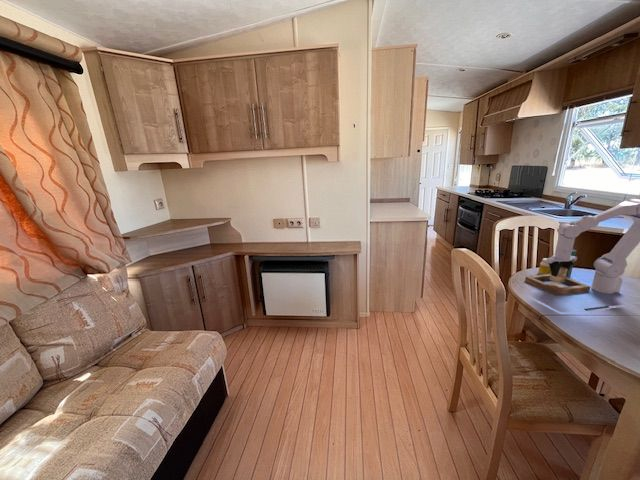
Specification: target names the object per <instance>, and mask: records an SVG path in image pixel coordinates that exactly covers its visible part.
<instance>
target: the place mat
mask: <svg viewBox="0 0 640 480" xmlns="http://www.w3.org/2000/svg"><path fill="white" fill-rule="evenodd" d="M607 308H608V309H609V308H610V306H609V305H604V306H596V307H588V308H584V310H585V311H594V310H602V309H607Z"/></svg>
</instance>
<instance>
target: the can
mask: <svg viewBox="0 0 640 480" xmlns="http://www.w3.org/2000/svg"><path fill="white" fill-rule="evenodd" d="M577 251H578V250H577V249H574V248H573V249H572V253H571V256H575V257H577V256H576V255H577ZM571 262H574V263H575V261H571ZM559 264H560V262H559ZM573 267H574V265H573V266H572V267H571V268H570V269H569V270H568V271H567V273H566V277H570V276H572V271H573Z"/></svg>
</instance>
